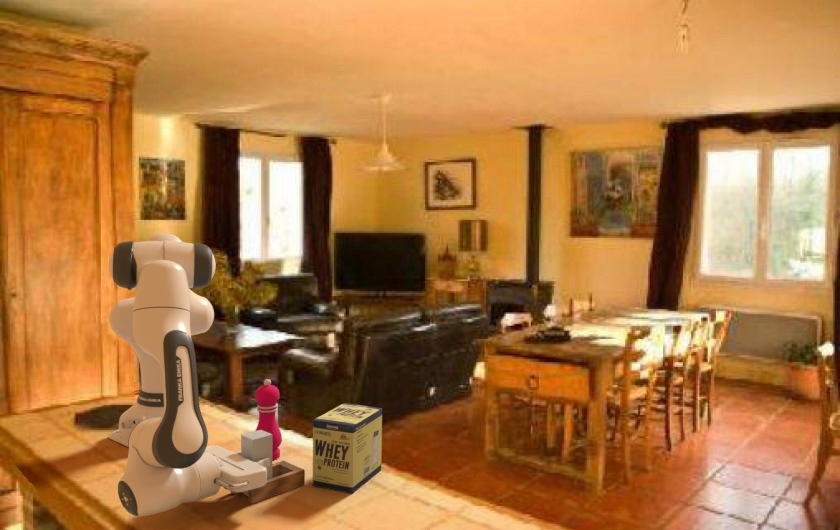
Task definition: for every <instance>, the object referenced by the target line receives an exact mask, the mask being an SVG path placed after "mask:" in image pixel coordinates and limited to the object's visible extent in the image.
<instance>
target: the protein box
mask: <svg viewBox="0 0 840 530" xmlns="http://www.w3.org/2000/svg"><path fill="white" fill-rule="evenodd" d="M382 426H383V408H382V407H376V406H368V405H361V404H354V403H347V402H343V403H342V404H339V405H337V406H336V407H335V408H333V409H331V410H329V411H327V412H326V413H324V414H322V415H320V416H318V417H316V418H314V419H313V420H312V486H313V487H316V488H320V489H321V488H323V489H327V490H333V491H338V492H341V493H347V494H354V493H355V492H356V491H358V490H359V489H360V488H361V487H362V486H364V485H365V484H366V483H367V482H368V481H370V480H372V478H373V477H375V476H376V475H377V474H378V473H380V472H381V471H382V443H383V442H382V437H383V435H382V434H383V427H382Z"/></svg>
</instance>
